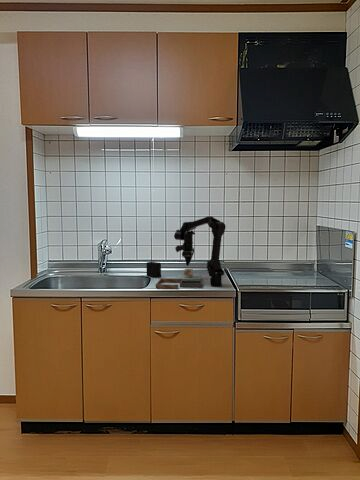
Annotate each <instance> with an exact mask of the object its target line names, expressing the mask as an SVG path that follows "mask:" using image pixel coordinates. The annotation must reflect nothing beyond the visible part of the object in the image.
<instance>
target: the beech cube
mask: <svg viewBox="0 0 360 480" xmlns="http://www.w3.org/2000/svg"><path fill="white" fill-rule="evenodd" d="M183 272H184V273H183V275H184V278H192V277H193V275H194V272H193V268H185V269H184V270H183Z"/></svg>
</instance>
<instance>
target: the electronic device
mask: <svg viewBox="0 0 360 480" xmlns="http://www.w3.org/2000/svg"><path fill="white" fill-rule="evenodd" d="M145 264H146V265H145V266H146V277H148V278H154V279H158V278H161V277H162V263H161V262H157V261H147V262H146V263H145Z"/></svg>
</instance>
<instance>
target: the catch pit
mask: <svg viewBox="0 0 360 480" xmlns="http://www.w3.org/2000/svg"><path fill="white" fill-rule="evenodd" d="M202 287H203V280H201V281H185V280H181V282H180V283H179V288H187V289H188V288H191V289H192V288H193V289H195V288H196V289H197V288H198V289H202Z"/></svg>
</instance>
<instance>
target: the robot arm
mask: <svg viewBox="0 0 360 480" xmlns="http://www.w3.org/2000/svg"><path fill="white" fill-rule="evenodd" d="M203 225H208V227H210V229H211V233H212V236H213V237H212V249H211V254H210V255H211V256H210V260H207V262H206V270H207V273H208V275H209V277H210V283H209V284H210V286H211V287H222V286H223V281H222V280H223V279H222V277H223V276H224V274H225V271H224V270H223V268H222V263H221V261H220V254H221V247H222V246H221V244H222V238H223V235H224V234H225V230H226V224H225V222H224V221H221V220H219V219H217V218H215V217H213V216H212V215H209V216H205V217H203V218H200V219H197V220H194V221H184V222H183V223H182V226H181V227H180V228H179V229H176V231H175V233H174V235H173V236H174V239H175V240H176V241H183V243H182V244H181V245H179V244H178V245H176V246H175V248H174V249H175V251H176V253H179V252H181V251H182V253H181V256H182V257H183V258H184V259H185V264H186V267H188V266H189V265H190V264H191V262H192V259H193V256H194V252H195V248H194V246H193V245H194V242H193V240H194V238H193V235H196V232H195V231H194V230H195V229H196V228H198V227H200V226H203Z"/></svg>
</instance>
